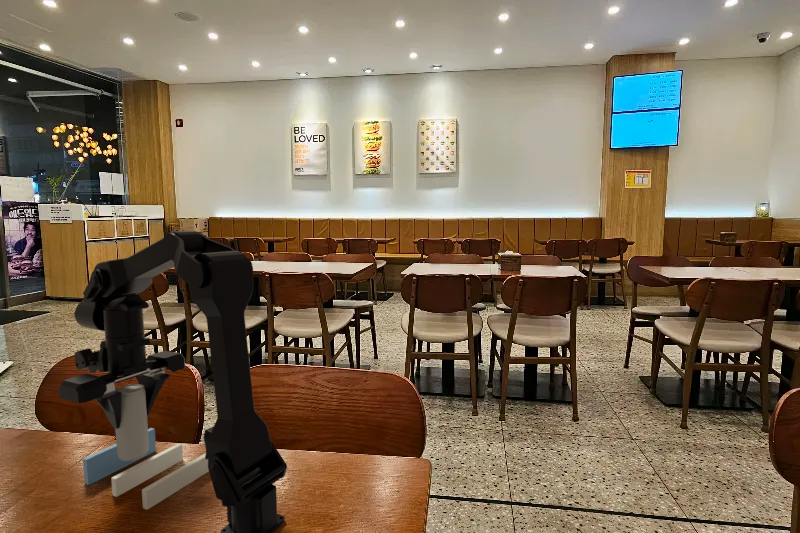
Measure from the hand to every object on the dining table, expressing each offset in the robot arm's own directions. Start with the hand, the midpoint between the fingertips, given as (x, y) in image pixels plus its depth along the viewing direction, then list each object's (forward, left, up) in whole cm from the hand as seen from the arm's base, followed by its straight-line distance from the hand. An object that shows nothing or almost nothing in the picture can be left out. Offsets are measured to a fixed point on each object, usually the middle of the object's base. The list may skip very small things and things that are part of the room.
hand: (131, 421), depth 77 cm
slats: (-4, 0, -9) cm, 10 cm away
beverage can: (0, 0, -6) cm, 6 cm away
